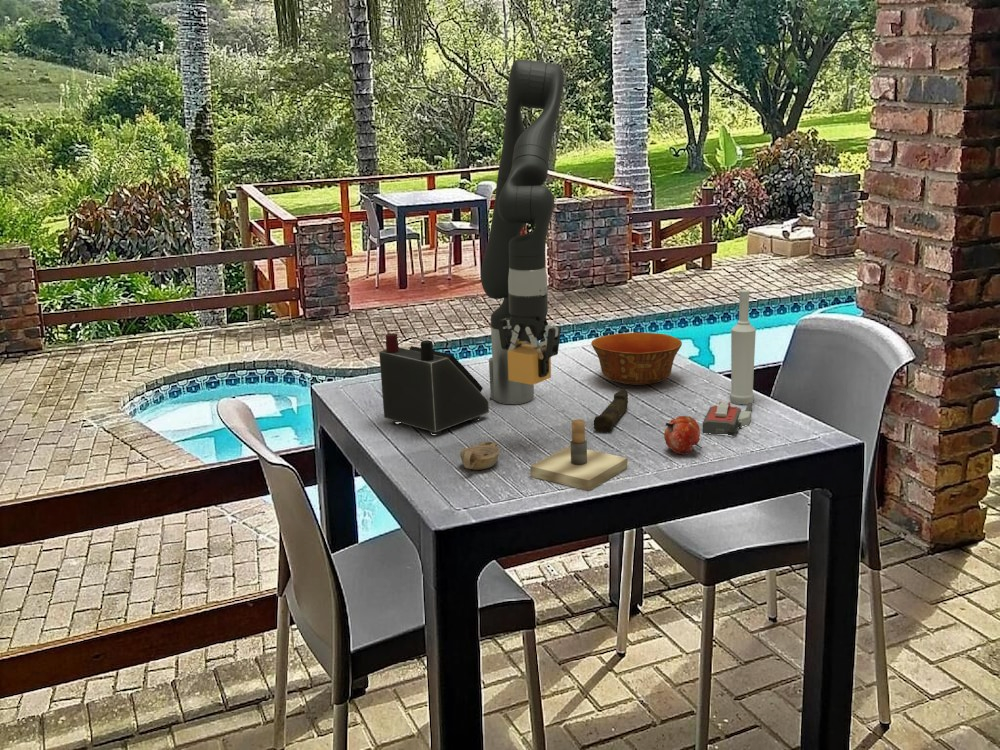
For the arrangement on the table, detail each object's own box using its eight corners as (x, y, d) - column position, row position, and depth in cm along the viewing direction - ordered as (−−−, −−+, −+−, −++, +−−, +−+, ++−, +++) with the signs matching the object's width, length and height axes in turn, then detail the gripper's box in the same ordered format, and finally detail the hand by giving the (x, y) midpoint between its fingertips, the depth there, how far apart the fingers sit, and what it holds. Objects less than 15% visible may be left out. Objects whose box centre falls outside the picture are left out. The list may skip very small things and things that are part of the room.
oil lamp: (475, 453, 209) (474, 429, 207) (510, 457, 206) (509, 432, 204) (447, 476, 197) (446, 451, 196) (484, 481, 194) (482, 455, 193)
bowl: (619, 365, 265) (619, 326, 262) (696, 376, 253) (697, 336, 250) (575, 386, 249) (574, 345, 246) (656, 399, 237) (656, 356, 234)
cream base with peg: (530, 476, 195) (528, 425, 193) (570, 455, 205) (568, 406, 202) (589, 490, 188) (588, 437, 185) (627, 468, 197) (627, 417, 194)
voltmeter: (490, 418, 229) (486, 328, 224) (435, 438, 218) (429, 345, 212) (439, 404, 240) (433, 319, 234) (384, 423, 228) (377, 334, 223)
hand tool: (611, 435, 216) (611, 413, 215) (593, 433, 218) (592, 411, 216) (638, 407, 233) (638, 387, 231) (620, 406, 234) (620, 386, 233)
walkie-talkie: (744, 440, 210) (755, 410, 228) (745, 419, 209) (755, 390, 227) (700, 437, 213) (714, 407, 231) (700, 416, 212) (714, 388, 230)
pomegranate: (686, 453, 210) (647, 428, 207) (709, 425, 208) (671, 400, 205) (696, 470, 203) (657, 445, 200) (720, 441, 201) (681, 416, 198)
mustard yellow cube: (508, 380, 208) (507, 350, 206) (526, 372, 212) (526, 344, 210) (532, 385, 204) (532, 355, 202) (551, 377, 209) (550, 348, 207)
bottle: (749, 406, 229) (752, 293, 222) (726, 403, 232) (728, 292, 225) (757, 399, 233) (760, 289, 226) (734, 397, 236) (736, 287, 229)
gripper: (486, 289, 204) (489, 372, 209) (546, 298, 196) (547, 384, 201) (510, 282, 210) (512, 363, 215) (569, 290, 201) (570, 375, 206)
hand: (529, 373), depth 208 cm, fingers closed on mustard yellow cube, 6 cm apart
